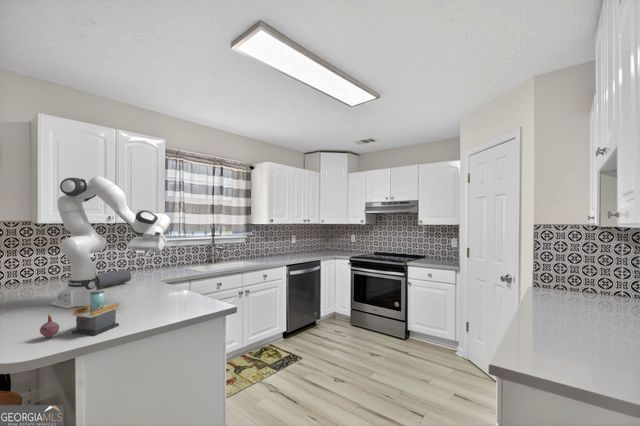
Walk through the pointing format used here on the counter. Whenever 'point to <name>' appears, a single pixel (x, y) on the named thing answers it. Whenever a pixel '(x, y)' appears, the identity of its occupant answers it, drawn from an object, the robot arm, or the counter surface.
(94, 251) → the robot arm
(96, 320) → the block
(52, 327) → the vegetable
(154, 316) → the counter surface
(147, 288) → the counter surface
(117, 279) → the bluetooth speaker
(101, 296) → the teal glass jar
